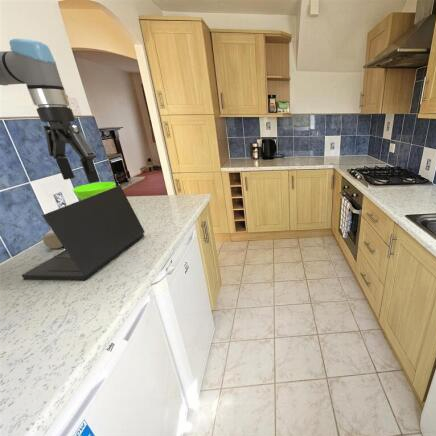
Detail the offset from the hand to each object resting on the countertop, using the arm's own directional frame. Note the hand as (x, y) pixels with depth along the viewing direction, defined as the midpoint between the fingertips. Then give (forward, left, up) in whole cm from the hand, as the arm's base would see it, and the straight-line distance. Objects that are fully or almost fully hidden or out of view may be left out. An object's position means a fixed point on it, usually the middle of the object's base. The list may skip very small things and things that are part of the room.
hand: (81, 180), depth 77 cm
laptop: (-8, +2, -29) cm, 30 cm away
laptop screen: (0, +1, -17) cm, 17 cm away
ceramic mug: (-26, +10, -29) cm, 40 cm away
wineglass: (-26, +32, -29) cm, 50 cm away
